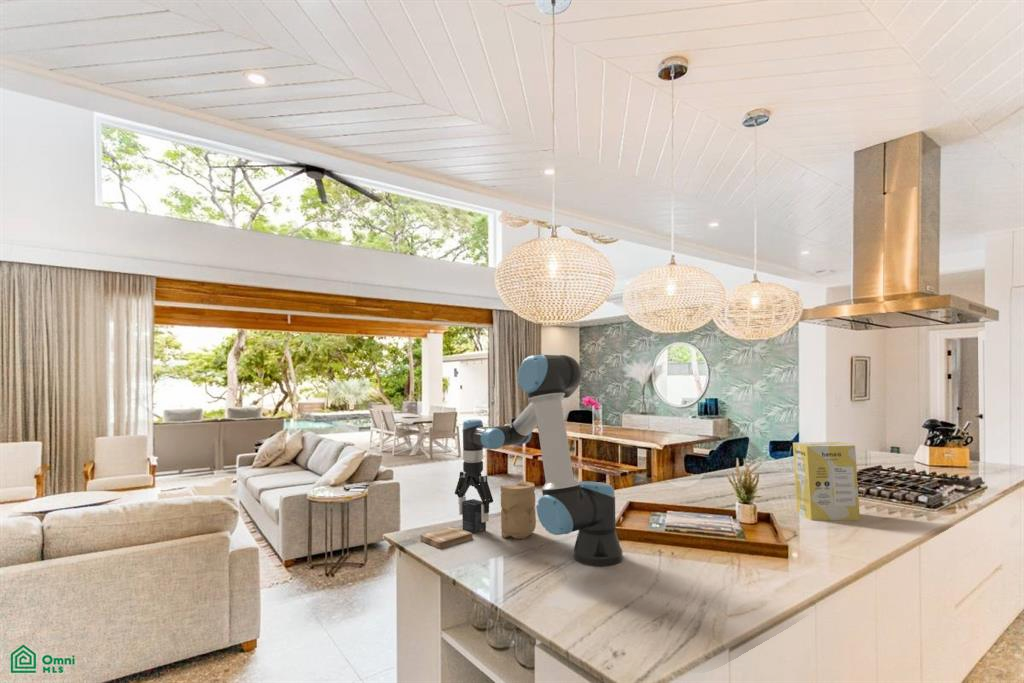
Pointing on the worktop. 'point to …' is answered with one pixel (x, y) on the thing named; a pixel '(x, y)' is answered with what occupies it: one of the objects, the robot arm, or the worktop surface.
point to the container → (518, 510)
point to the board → (446, 537)
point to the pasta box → (826, 481)
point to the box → (472, 516)
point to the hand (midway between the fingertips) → (473, 517)
